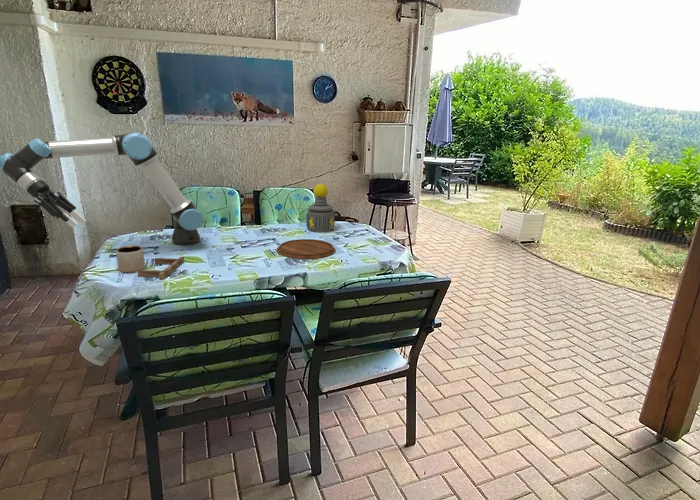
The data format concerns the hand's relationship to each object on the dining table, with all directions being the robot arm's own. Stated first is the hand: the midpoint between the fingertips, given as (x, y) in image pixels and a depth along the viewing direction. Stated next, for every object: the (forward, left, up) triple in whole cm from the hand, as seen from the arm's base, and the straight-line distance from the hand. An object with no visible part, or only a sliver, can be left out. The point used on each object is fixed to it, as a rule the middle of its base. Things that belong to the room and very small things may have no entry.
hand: (79, 224), depth 175 cm
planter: (0, +20, -21) cm, 29 cm away
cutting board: (-37, +96, -21) cm, 105 cm away
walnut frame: (0, +33, -20) cm, 39 cm away
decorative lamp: (-85, +101, -21) cm, 134 cm away
